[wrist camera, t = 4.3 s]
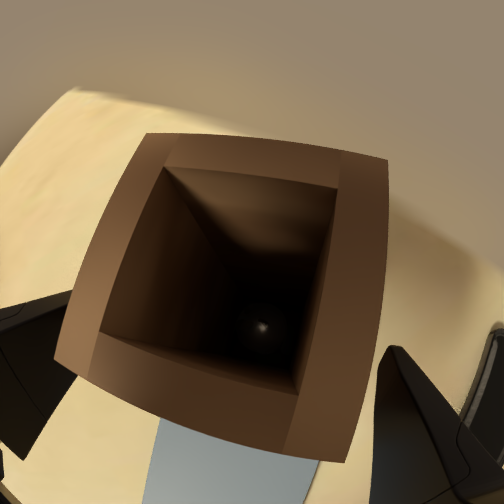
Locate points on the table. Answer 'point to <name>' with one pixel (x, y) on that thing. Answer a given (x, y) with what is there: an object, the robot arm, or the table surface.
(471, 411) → the phone
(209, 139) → the walnut sleeve
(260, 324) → the peg stand
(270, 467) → the pad
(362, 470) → the table surface
